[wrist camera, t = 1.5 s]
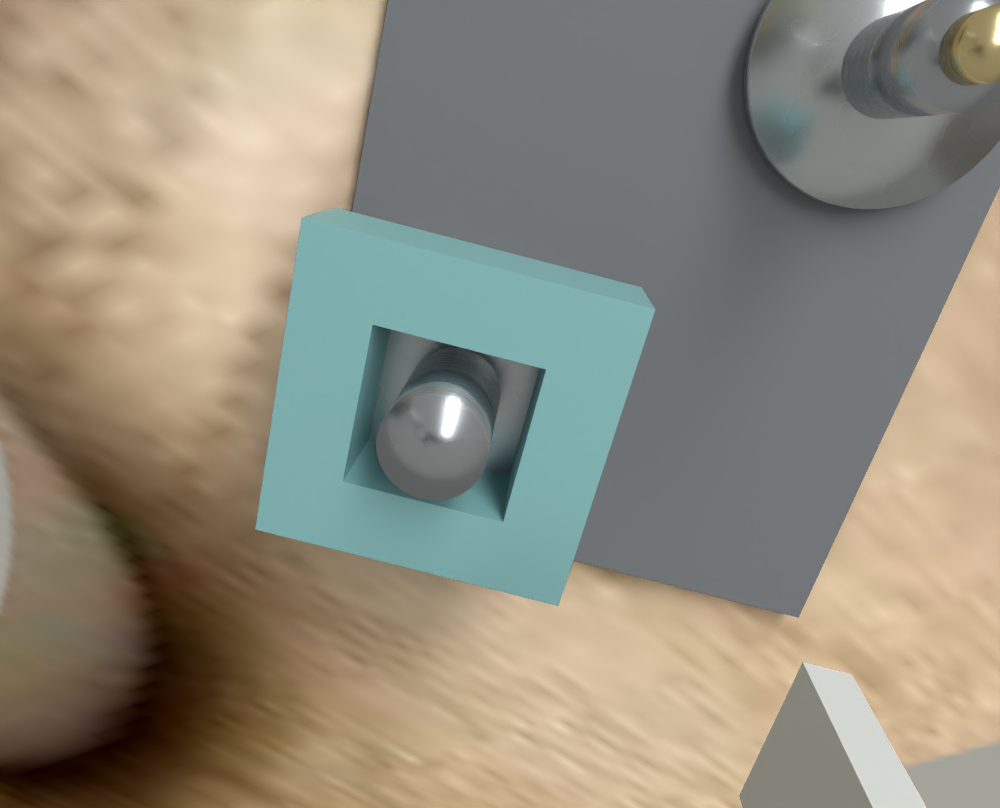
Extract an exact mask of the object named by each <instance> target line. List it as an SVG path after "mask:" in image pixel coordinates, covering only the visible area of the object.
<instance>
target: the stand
mask: <svg viewBox="0 0 1000 808" xmlns="http://www.w3.org/2000/svg"><path fill="white" fill-rule="evenodd" d="M538 372H539V368H538V367H535V366H531V365H527V364H523V363H519V362H515V361H511V360H507V359H504V358H500V357H496V356H492V355H488V354H484V353H480V352H476V351H473V350H469V349H465V348H461V347H457V346H453V345H449V344H445V343H442V342H438V341H434V340H430V339H426V338H422V337H418V336H414V335H411V334H407V333H403V332H399V331H395V330H390V335H389V340H388V345H387V350H386V355H385V360H384V365H383V370H382V375H381V380H380V385H379V390H378V395H377V400H376V405H375V410H374V415H373V420H372V425H371V430H370V435H369V441H372V442H376V451H377V457H378V460H379V463H380V465H381V468H382V470H383V471H384V473H385V475H386V476H387V477H388V478H389V480H390V481H391V482H392V483H393V484H394V485H395V486H397V487H398V488H399V489H401V490H402V491H404V492H406V493H407V494H410V495H412V496H414V497H417V498H421V499H426V500H445V499H450V498H453V497H456V496H458V495H461V494H463V493H464V492H466V491H467V490H469V489H470V488H471V487H472V486H473V485H474V484H475V483H476V482H477V481H478V480H479V478H480V477H481V475H482V473H483V471H484V470H486V471H490V472H494V473H498V474H502V475H506V476H510V472H511V468H512V465H513V461H514V458H515V454H516V450H517V447H518V443H519V440H520V436H521V433H522V429H523V425H524V422H525V418H526V415H527V411H528V407H529V404H530V400H531V397H532V393H533V389H534V386H535V382H536V379H537V375H538Z"/></svg>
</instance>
